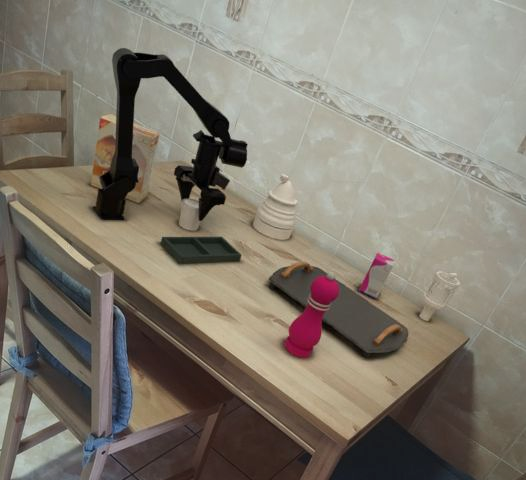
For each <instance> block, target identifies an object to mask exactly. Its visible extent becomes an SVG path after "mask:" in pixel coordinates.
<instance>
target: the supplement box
mask: <svg viewBox="0 0 526 480" xmlns="http://www.w3.org/2000/svg"><path fill="white" fill-rule="evenodd" d="M395 261H396V260H395V259H393V258H391V257H389V256H386V255H385V254H383V253H380V252H377V253H376V255H375V257H374V258H373V260H372V263H371V265H370V267H369V269H368V270H367V273H366V274H365V277H364V278H363V280H362V283H361V284H360V287H359V290H358V293H360V294H363V295H365V296H367V297H369V298H371V299H374V300H377V299H378V297H379V294H380V293H381V291H382V289H383V287H384V285H385V283H386V281H387V279H388V277H389V275H390V274H391V271H392V270H393V268H394V265H395Z"/></svg>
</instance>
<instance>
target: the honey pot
mask: <svg viewBox="0 0 526 480" xmlns="http://www.w3.org/2000/svg"><path fill="white" fill-rule="evenodd" d="M279 177H280V181H281V182H280V183H279V184H278V185H277V186H275V188H272V189H269V190H267V197H266V198H265V199H264V200H263V202H262V203H261V205H260V206H258V208H257V211H256V214H255V217H254V219H253V222H252V226H253V228H254V229H255V230H256V231H257V232H259V233H260V234H262V235H264V236H266V237H268V238H271V239H274V240H280V241H285V240H289V239H290V237H291V234H292V232H293V230H294V227H295V225H296V213H297V209H296V206H297V205H298V204H299V201H298V199H297V197H296V190H295V187H294V185H293V183H292V181H290V180H289V178H290V177H289V176H288V175H287V174H284V173H281V174H280V175H279Z"/></svg>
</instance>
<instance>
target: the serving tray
mask: <svg viewBox="0 0 526 480" xmlns="http://www.w3.org/2000/svg"><path fill="white" fill-rule="evenodd" d="M328 273H329V272H326V271H324V269H321V268H320V267H319V266H313V265H311V264H310V263H309V262H307V261H297V262H295V263H292V264H290V265H287V266H283V267H281V268H278V269H276V270H275V271H274V272H273V273H272V274H271V275H270V276H269V277H268V281H269V288H270V289H272V290H275V289H277V288H278V289H280V290H281V291H282V292H284V293H285V294H286V295H288V296H289V297H291V298H292V299H293V300H294V301H296V302H297V303H299V304H300V305H301V306H303V307H304V308H305V309H306V307H307V305H308V301H307V299H308V298H309V295H310V294H311V290H310V287H311V284H312V282H313V281H314V280H315V279H316V278H317V277H320V276H327V274H328ZM334 280H335V281H336V282H337V284H338V286H339V294H338V297H337V298H336V299H335V300H334V301H333V302H331V306H330V308H329V310H327V311H326V312H325V313H324V315H323V318H322V322H324V323H326V324H327V325H328V326H330V327H331V328H332V329H334V330H335V331H337V332H338V333H339V334H341V335H342V336H343V337H345V338H346V339H347V340H349V341H350V342H351V343H353V344H354V345H356V346H357V347H358V348H360V349H361V356H362V357H363V358H366V359H367V358H369V357H370V356H371V355H372V354H384V353H390V352H393V351H396V350H399V349H400V348H402V347H403V346H404V344H405V343H406V342H407V341H408V337H409V329H408V328H407V327H406V326H405V325H404V324H402V323H401V322H400V321H398V320H396V319H395V318H393V317H392V316H390V315H389V314H388V313H386V312H385V311H384V310H383V309H381V308H379V307H377V306H376V305H374V304H372V303H371V302H370V301H368V300H367V299H366V298H365V297H363V296H362V295H361V294H358V293H357V291H354V290H353V289H351V288H350V287H348V286H347V285H346V284H344V283H343V282H341V281H339V280H338V279H336V278H335V279H334Z"/></svg>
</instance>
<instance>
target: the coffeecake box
mask: <svg viewBox="0 0 526 480" xmlns="http://www.w3.org/2000/svg"><path fill="white" fill-rule="evenodd" d="M97 132H98V133H97V137H96V146H95V152H94V158H93V164H92V165H93V167H92V174H91V180H90V186H93V187H95V188H98V189H102V185H101V183H100V179H99V177H100V176H101V175H103V174H105V173H106V172H108V171H109V170H110V165H111V161H112V158H113V155H114V153H115V141H116V115H115V114H112V113H109V114H106V115H102V116H100V118H99V125H98V130H97ZM159 138H160V132H158V131H155V130H153V129H150V128H147V127H144V126H142V125H140V124H137V123H135V122H134V124H133V143H132V159H135V160H136V162H137V164H138V166H139V172H138V182H139V183H137V182H136V186H135V188H134V189H133V190H132V191H131V192H129V193H128V194H127V196H126V197H125V200H129V201H132V202H135V203H137V204H140V203H141V202H142V201H143V200H145V199H146V198H147V196H148V191H149V186H150V181H151V177H152V172H153V167H154V162H155V157H156V152H157V148H158V142H159Z"/></svg>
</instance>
